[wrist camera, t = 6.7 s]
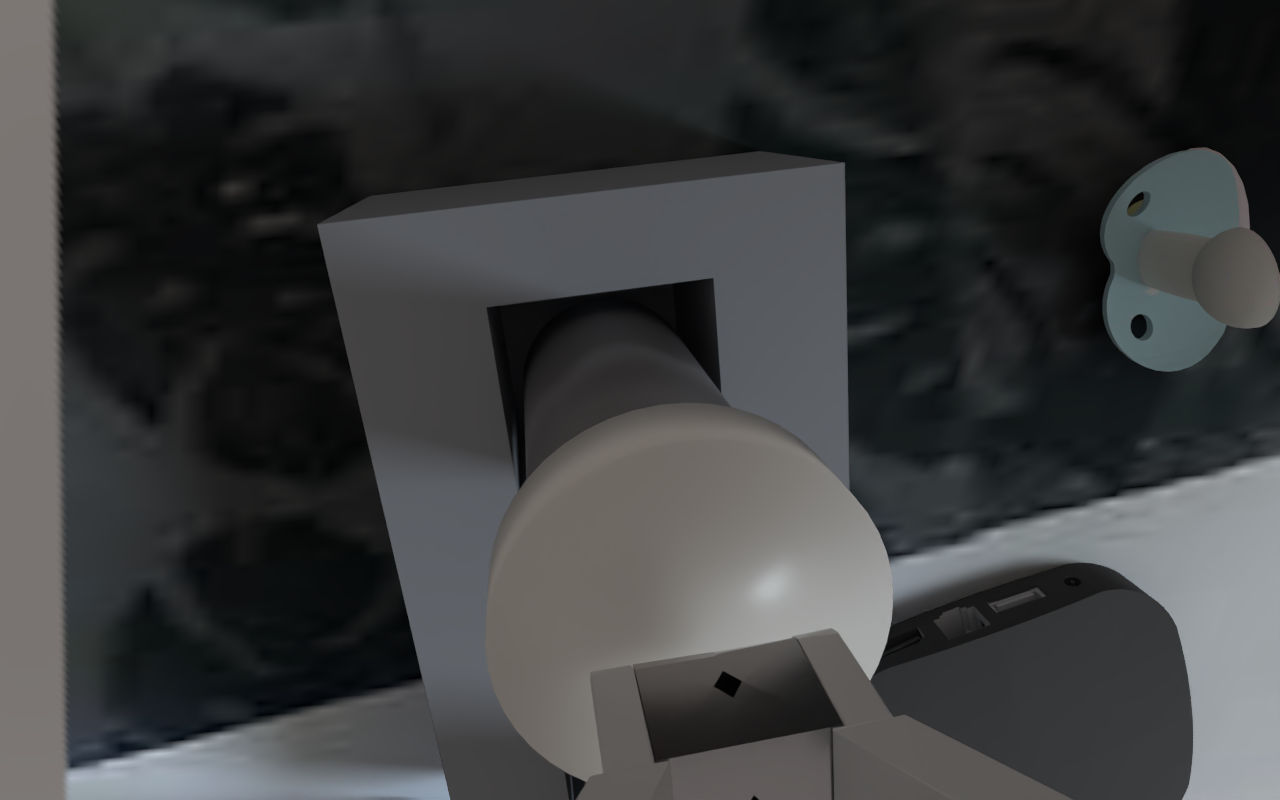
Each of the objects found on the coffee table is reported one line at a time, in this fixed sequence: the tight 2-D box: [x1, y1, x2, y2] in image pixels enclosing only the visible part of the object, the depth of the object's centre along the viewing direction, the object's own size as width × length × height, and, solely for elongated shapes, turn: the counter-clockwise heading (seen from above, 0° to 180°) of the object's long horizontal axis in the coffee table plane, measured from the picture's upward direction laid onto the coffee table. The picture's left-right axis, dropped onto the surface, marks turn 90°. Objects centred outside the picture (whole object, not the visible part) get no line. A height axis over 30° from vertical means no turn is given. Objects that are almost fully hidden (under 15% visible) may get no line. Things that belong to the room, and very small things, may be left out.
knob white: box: [485, 298, 893, 782], centre depth 16 cm, size 6×6×11 cm
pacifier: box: [1100, 147, 1280, 372], centre depth 26 cm, size 7×6×6 cm
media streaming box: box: [870, 564, 1193, 800], centre depth 34 cm, size 15×15×3 cm
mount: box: [317, 151, 849, 800], centre depth 25 cm, size 12×22×7 cm, turn 6°
